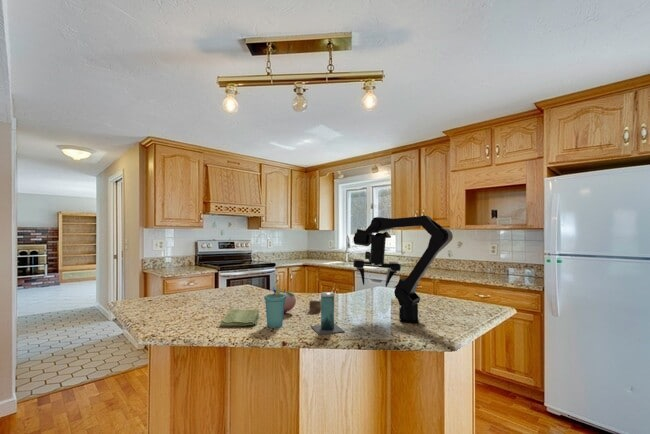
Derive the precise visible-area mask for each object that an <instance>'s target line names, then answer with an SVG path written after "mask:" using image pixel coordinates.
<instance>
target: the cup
mask: <svg viewBox="0 0 650 434" xmlns="http://www.w3.org/2000/svg"><path fill="white" fill-rule="evenodd" d="M272 289H273V293H272V294H270V293H268V294H265V296H264V295H263V296H264V300H265V313H266V314H265V315H266V326H267V327H268V328H269V327H271V329H277V328H276V327H278V328H281V327H283V320H284V314H285V313H284V303H285V299H286V296H285V295H283V294H280V291H281V287H280V285H279V284H278V283H277V284H276V285H275V286H273V288H272Z"/></svg>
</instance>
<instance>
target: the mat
mask: <svg viewBox="0 0 650 434" xmlns="http://www.w3.org/2000/svg"><path fill="white" fill-rule="evenodd" d="M311 327H312V328H311V329H312V330H314V331H315V332H316V333H317V334H318V335H319V336H323V335H333V334H343V333H345V330H344V329H342V328H341V327H340V326H339V325H337V324H336V323H334V329H333V330H322V329H321V324H319V325H311Z"/></svg>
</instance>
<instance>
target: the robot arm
mask: <svg viewBox="0 0 650 434" xmlns="http://www.w3.org/2000/svg"><path fill="white" fill-rule="evenodd" d="M410 227H422V228H423V229H424V230H425V231H426V232H427V233H428V234H429V235H430V238H429V242H428V244H427V248H426V249H425V251H424V252H423V253H422V255H421V257H420V258H419V259H418V261H417V263H416V264H415V266H414V267H413V268H412V270H411V272H410V273H409V274H408V276H407V277H402V278H400V279H399V281H398V282H397V284H396V285H395V286H394V296H395V298H396V299H397V301H398V305H399V308H398V310H399V314H398V316H399V317H398V318H399V320H400V323H410V324H419V304H420V301H421V297H420V296H419V295H418V294H417V293H416V291H417V288H418V284H419V282H420V280H421V279H422V278H423V276H424V274H425V272H426V271H427V270H428V268H429V267H430V265H431V264H432V263H433V261H434V259H435V258H436V257H437V255H438V254H439V253H440V252H441V251H443V249H445V247H447V246H448V245H449V244H450V242H451V241H453V237H454V236H453V232H452V231H451V230H450V229H449V228H445V227H443V226H442V225H440V224H439V223H437V222H436V221H435V220H434V219H432V217H430V216H429V215H424V214H423V215H420V216H411V217H410V216H409V217H406V216H405V217H396V218H392V217H381V216H376V217H375V216H374V217H373V218H372V219H371V221H370V224H369V225H368V227H367V228H366V229H361V228H357V229H356V232H355V233H354V235H353V238H352V241H353V244H354V245H355V246H363V247H370V251H367V250H366V251H365V252H364V259H363V258H354V259H353V261H352V266H353V268H356V270H358V271H359V273H360V276H361V277H360V278H361V281H362V282H361V283H362V285H363V286H365V268H364V267H371V268H372V267H373V268H385V269H387V272H386V273H387V274H386V279H385V288H387V287H388V285H389V283H390V281H391V279H392V278H393V276H394V275H395V274H397V273H398V272H401V264H400V263H399V262H396V261H389V262H388V263H386V262H385V253H386V239H390V238H392V236H391V235H390V234H389V233H388V231H390V230H394V229H396V228H410ZM382 232H383V233H382ZM365 260H368V261H365Z"/></svg>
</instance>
